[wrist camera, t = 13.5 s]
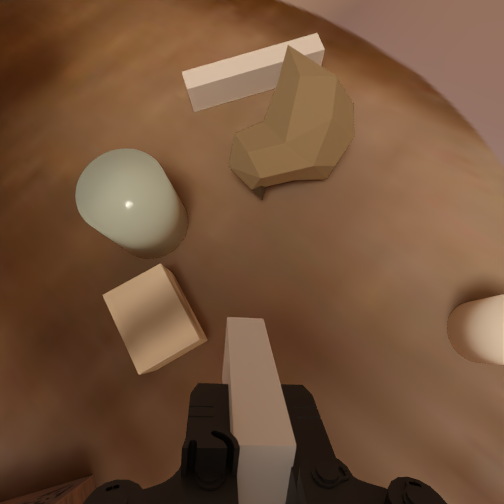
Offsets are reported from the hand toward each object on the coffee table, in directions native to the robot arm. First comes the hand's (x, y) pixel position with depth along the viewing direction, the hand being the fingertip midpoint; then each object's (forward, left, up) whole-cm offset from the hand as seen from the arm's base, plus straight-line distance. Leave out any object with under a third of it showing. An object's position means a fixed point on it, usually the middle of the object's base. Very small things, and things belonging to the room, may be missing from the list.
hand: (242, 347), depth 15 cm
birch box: (-7, -7, -22) cm, 24 cm away
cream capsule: (+11, +19, -22) cm, 31 cm away
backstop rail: (-26, +17, -22) cm, 38 cm away
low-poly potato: (-16, +14, -22) cm, 31 cm away
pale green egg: (-17, -3, -22) cm, 28 cm away
